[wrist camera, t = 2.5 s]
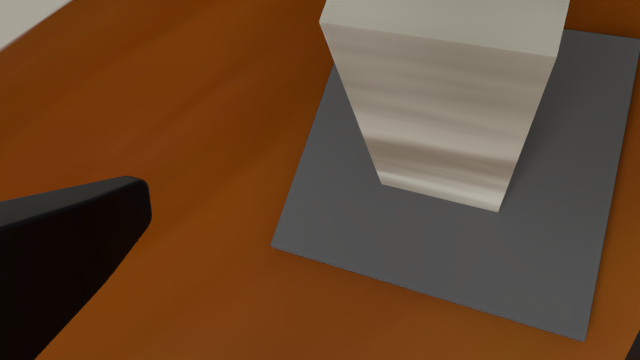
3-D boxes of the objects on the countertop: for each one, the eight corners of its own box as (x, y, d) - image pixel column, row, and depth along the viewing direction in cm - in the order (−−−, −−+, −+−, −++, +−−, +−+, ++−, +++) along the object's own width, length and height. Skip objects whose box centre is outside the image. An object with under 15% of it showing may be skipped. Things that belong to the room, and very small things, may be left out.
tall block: (498, 212, 21) (557, 57, 10) (381, 184, 22) (319, 21, 11) (524, 104, 22) (602, -143, 11) (411, 84, 24) (381, -151, 13)
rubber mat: (580, 341, 19) (584, 341, 19) (274, 248, 23) (270, 245, 23) (636, 47, 22) (642, 39, 22) (357, 8, 26) (355, 1, 26)
